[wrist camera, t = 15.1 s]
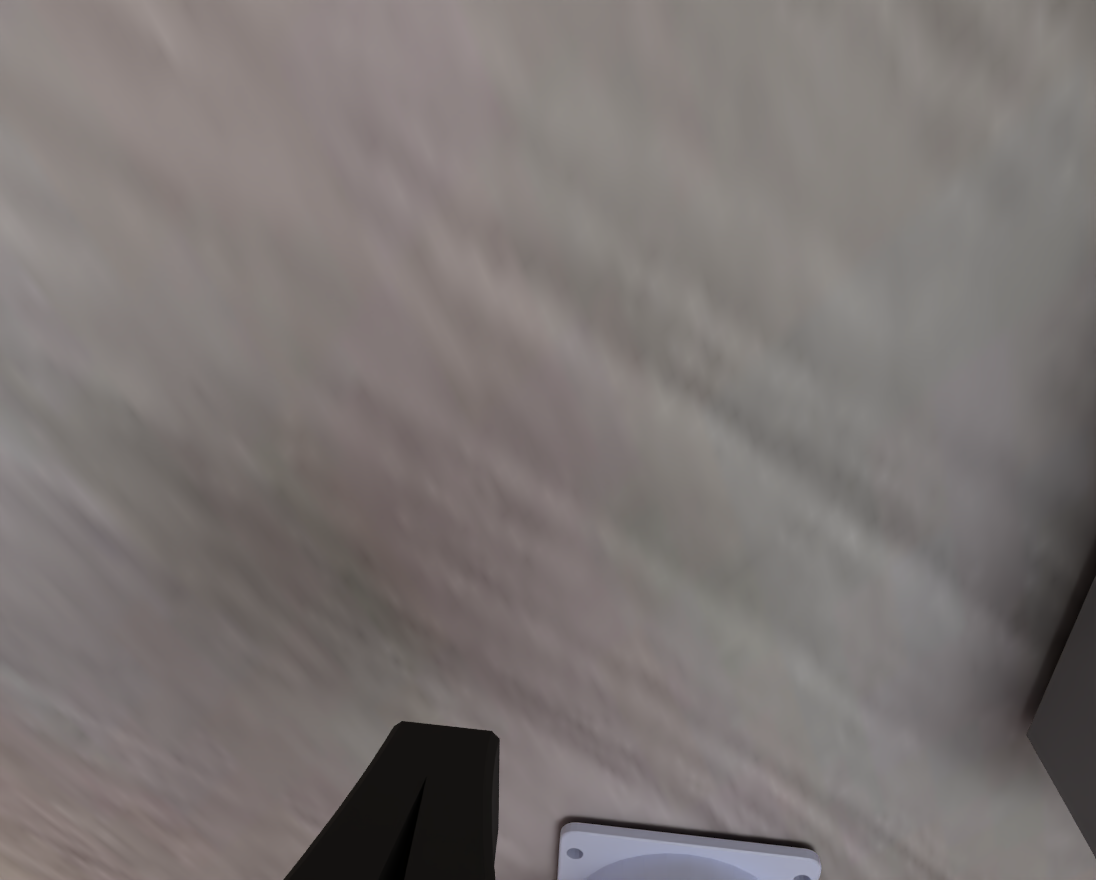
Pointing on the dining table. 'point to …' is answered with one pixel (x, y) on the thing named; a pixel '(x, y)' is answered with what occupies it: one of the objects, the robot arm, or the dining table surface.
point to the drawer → (1072, 722)
